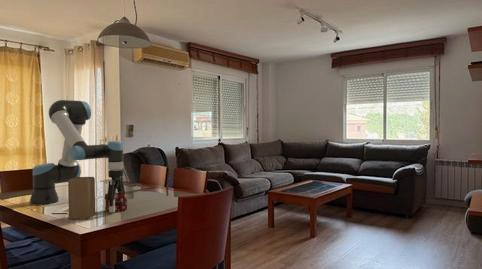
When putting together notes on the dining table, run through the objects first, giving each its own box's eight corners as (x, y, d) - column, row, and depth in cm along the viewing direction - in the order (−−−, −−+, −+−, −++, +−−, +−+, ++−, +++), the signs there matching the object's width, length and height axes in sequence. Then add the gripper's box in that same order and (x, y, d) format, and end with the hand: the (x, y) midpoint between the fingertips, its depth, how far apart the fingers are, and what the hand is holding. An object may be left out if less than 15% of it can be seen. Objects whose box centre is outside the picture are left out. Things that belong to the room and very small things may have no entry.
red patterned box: (130, 209, 186) (130, 191, 185) (108, 214, 176) (108, 194, 176) (123, 207, 190) (123, 189, 190) (102, 212, 181) (102, 193, 181)
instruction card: (51, 214, 178) (51, 213, 178) (69, 206, 196) (69, 205, 196) (75, 213, 178) (75, 212, 178) (91, 205, 196) (91, 205, 196)
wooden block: (76, 214, 176) (75, 176, 175) (96, 214, 176) (95, 176, 176) (68, 220, 166) (67, 179, 165) (89, 219, 166) (88, 179, 166)
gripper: (113, 172, 171) (114, 215, 171) (130, 166, 195) (130, 204, 195) (99, 172, 171) (100, 215, 171) (117, 167, 195) (118, 204, 195)
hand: (116, 209), depth 183 cm, fingers open, 12 cm apart
